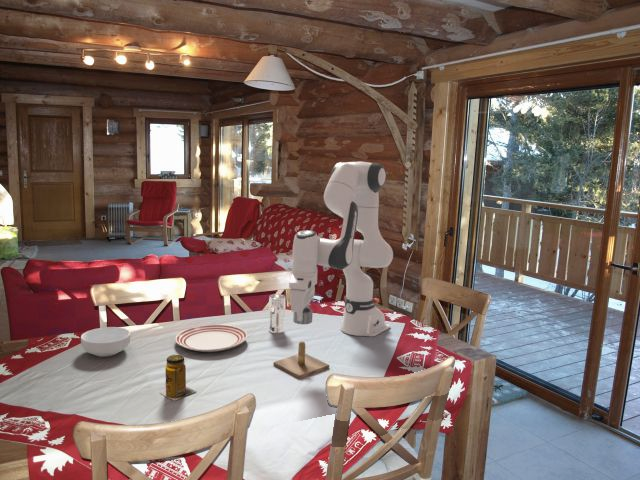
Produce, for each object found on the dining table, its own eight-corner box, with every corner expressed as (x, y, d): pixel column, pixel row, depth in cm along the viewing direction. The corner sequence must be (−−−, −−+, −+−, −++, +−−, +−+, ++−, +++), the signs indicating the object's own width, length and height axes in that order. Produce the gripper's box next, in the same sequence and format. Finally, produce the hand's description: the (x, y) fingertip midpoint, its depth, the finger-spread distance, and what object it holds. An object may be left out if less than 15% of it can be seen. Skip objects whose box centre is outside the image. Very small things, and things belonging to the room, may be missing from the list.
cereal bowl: (139, 353, 197) (138, 335, 196) (94, 366, 185) (93, 346, 184) (117, 340, 208) (116, 323, 207) (73, 351, 196) (72, 333, 195)
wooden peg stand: (303, 355, 201) (303, 331, 199) (329, 368, 191) (330, 343, 189) (273, 365, 192) (274, 340, 190) (299, 378, 182) (300, 352, 180)
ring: (303, 316, 193) (304, 306, 192) (315, 321, 188) (316, 310, 187) (289, 320, 188) (289, 309, 188) (301, 325, 184) (302, 314, 183)
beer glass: (282, 334, 221) (283, 299, 218) (265, 332, 222) (266, 297, 219) (286, 329, 228) (287, 294, 225) (270, 327, 229) (271, 293, 226)
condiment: (160, 393, 168) (159, 357, 166) (182, 384, 174) (182, 349, 172) (173, 401, 163) (173, 364, 161) (196, 392, 170) (196, 356, 167)
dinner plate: (160, 349, 202) (160, 340, 202) (202, 326, 227) (202, 319, 227) (223, 363, 192) (223, 354, 192) (259, 338, 217) (260, 330, 217)
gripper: (302, 270, 196) (301, 306, 198) (287, 284, 176) (286, 325, 179) (319, 271, 195) (318, 308, 197) (306, 286, 175) (304, 327, 178)
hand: (302, 316), depth 188 cm, fingers closed on ring, 6 cm apart
